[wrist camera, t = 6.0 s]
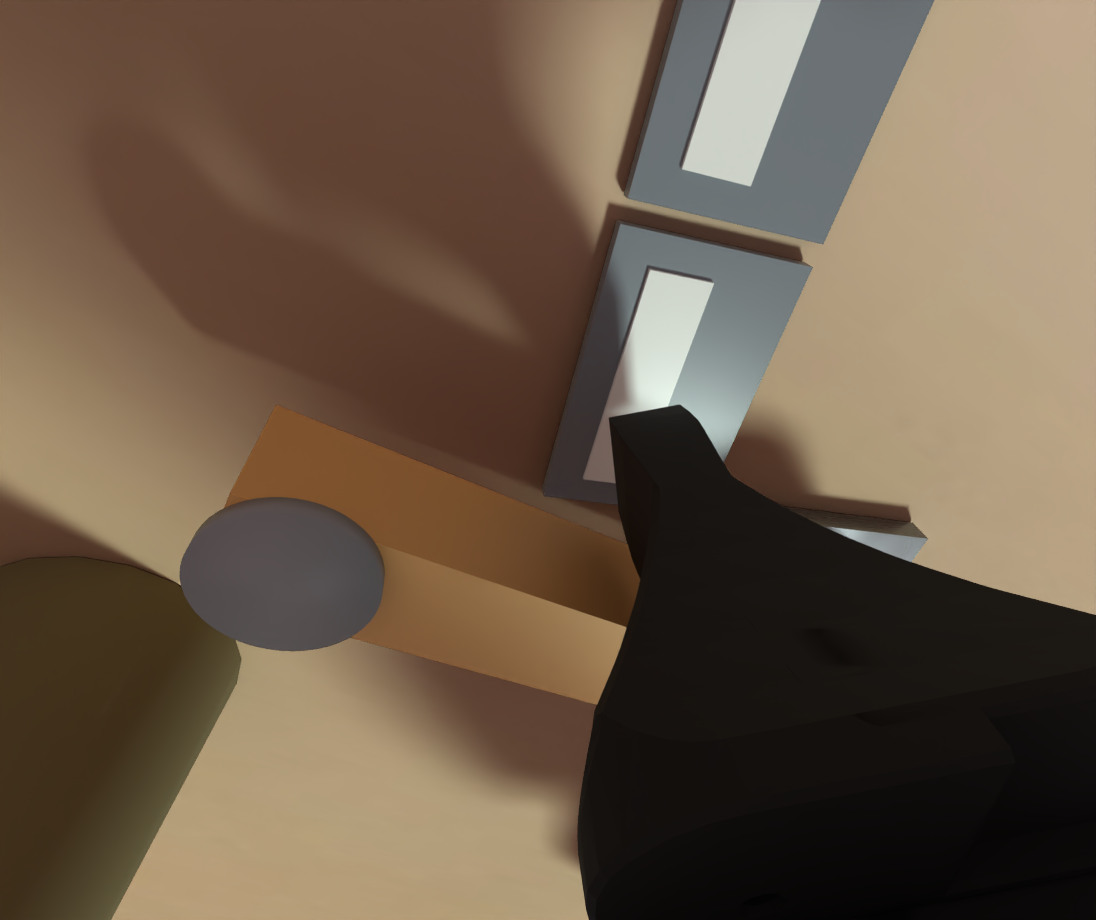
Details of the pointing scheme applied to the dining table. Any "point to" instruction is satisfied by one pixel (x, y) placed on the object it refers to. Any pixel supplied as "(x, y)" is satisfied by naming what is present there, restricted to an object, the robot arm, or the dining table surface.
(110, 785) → the olive cylinder
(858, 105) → the label
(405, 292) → the dining table surface
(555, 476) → the label
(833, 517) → the square flange plate
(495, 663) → the swing arm
